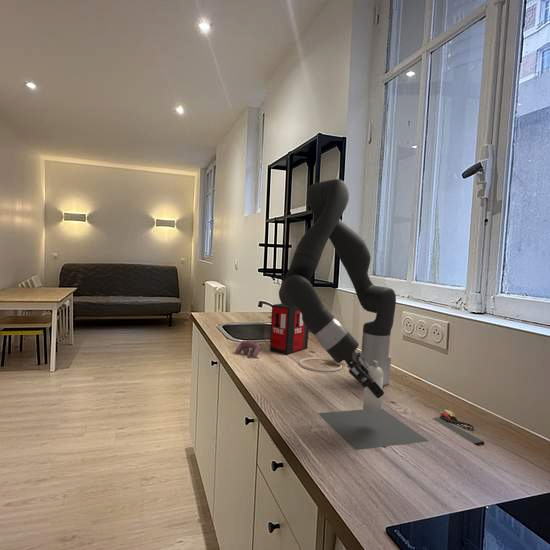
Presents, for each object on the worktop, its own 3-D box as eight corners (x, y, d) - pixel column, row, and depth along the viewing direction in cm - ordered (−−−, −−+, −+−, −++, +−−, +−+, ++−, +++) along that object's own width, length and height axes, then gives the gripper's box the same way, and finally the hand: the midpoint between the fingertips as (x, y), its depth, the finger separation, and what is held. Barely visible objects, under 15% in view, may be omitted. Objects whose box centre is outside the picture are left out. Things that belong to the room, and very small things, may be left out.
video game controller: (259, 360, 164) (264, 344, 166) (253, 357, 160) (258, 340, 162) (239, 356, 169) (244, 340, 171) (233, 353, 165) (238, 336, 168)
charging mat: (381, 410, 116) (381, 407, 116) (428, 443, 97) (429, 440, 97) (317, 415, 109) (317, 413, 109) (355, 452, 91) (355, 449, 90)
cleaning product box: (286, 355, 169) (289, 307, 167) (269, 351, 174) (272, 304, 173) (307, 348, 182) (310, 304, 181) (290, 344, 187) (293, 301, 186)
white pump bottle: (374, 405, 106) (378, 358, 105) (384, 411, 102) (388, 363, 101) (359, 406, 104) (363, 359, 103) (368, 413, 100) (372, 364, 99)
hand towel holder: (291, 350, 161) (336, 348, 169) (291, 361, 162) (335, 358, 170) (311, 362, 146) (359, 359, 154) (311, 374, 146) (359, 370, 154)
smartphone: (438, 417, 112) (485, 441, 98) (437, 420, 112) (485, 445, 98) (418, 420, 109) (464, 445, 96) (418, 423, 109) (464, 449, 96)
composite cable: (476, 431, 106) (477, 421, 106) (462, 433, 105) (463, 423, 104) (446, 415, 115) (447, 407, 115) (434, 417, 114) (434, 409, 113)
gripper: (344, 336, 96) (394, 393, 94) (349, 325, 110) (392, 374, 108) (321, 355, 98) (369, 412, 96) (328, 342, 112) (370, 391, 110)
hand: (381, 392), depth 102 cm, fingers closed on white pump bottle, 4 cm apart
